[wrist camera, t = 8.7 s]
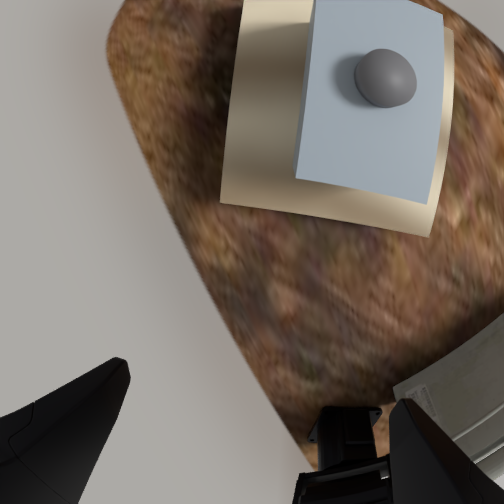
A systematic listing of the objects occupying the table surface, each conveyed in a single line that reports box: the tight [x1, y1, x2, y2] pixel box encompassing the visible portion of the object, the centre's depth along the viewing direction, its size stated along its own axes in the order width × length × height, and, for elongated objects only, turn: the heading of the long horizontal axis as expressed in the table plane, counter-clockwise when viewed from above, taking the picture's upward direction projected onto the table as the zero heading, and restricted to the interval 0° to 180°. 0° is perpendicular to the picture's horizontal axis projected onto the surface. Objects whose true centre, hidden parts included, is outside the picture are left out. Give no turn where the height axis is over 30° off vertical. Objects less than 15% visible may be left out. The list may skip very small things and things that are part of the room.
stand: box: [220, 0, 454, 237], centre depth 14 cm, size 13×12×3 cm
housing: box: [292, 0, 444, 205], centre depth 10 cm, size 8×5×6 cm, turn 173°
